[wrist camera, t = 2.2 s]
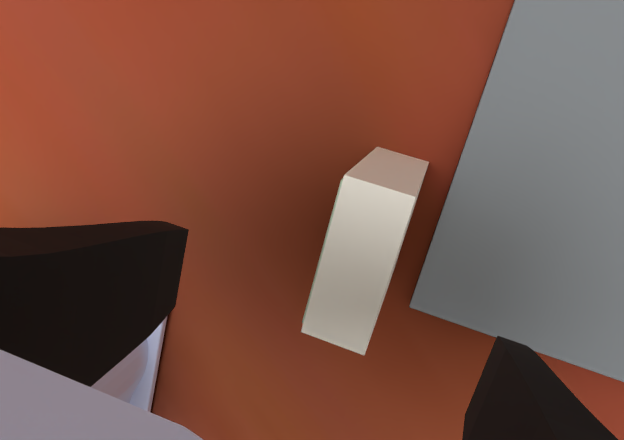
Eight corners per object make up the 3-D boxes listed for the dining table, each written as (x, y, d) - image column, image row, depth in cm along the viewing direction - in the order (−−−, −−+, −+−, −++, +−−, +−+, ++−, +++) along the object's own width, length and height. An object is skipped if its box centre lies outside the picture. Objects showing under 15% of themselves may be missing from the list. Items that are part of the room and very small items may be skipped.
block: (390, 281, 21) (364, 355, 16) (341, 264, 22) (298, 331, 16) (429, 161, 20) (416, 197, 14) (375, 146, 20) (341, 174, 14)
